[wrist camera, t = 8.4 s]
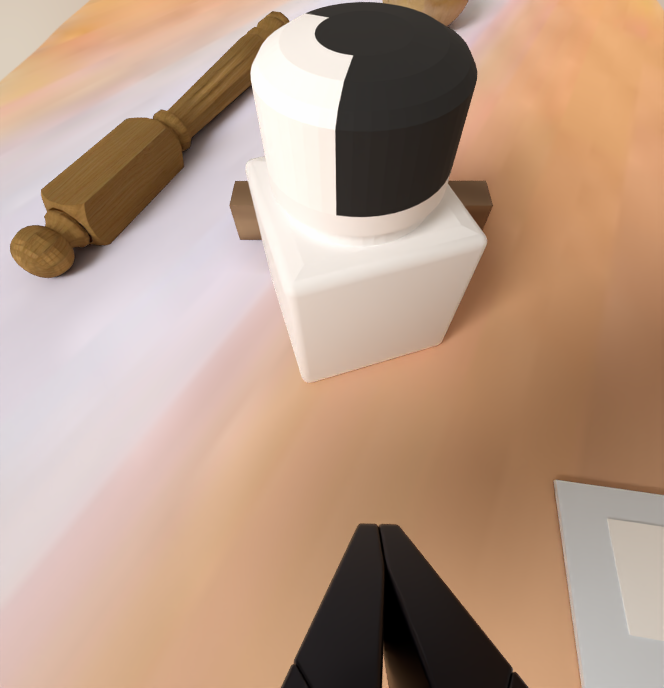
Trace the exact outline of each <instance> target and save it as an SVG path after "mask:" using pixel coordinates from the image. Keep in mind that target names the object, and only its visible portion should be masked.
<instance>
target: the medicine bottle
mask: <svg viewBox="0 0 664 688" xmlns="http://www.w3.org/2000/svg"><path fill="white" fill-rule="evenodd" d="M476 81H477V68H476V64H475V62H474V59H473V57H472V54H471V52H470V50H469V48H468V46H467V44H466V42H465V41H464V40H463V39H462V38H461V36H459V35H458V34H457V33H456V32H455V31H453V30H452V29H450V28H449V27H447V26H446V25H444V24H442V23H441V22H439V21H437V20H436V19H434V18H432V17H431V16H429V15H427V14H425V13H422V12H420V11H417V10H415V9H411V8H408V7H404V6H399V5H393V4H386V3H375V2H356V3H344V4H337V5H331V6H327V7H322V8H319V9H316V10H313V11H310V12H308V13H305V14H303V15H301V16H299V17H297V18H296V19H294V20H292V21H291V22H289V23H287V24H285V25H284V26H282V27H280V28H279V29H277V30H276V31H274V32H273V33H272V34H271V35H270V36H269V37H268V38H267V39H266V40H265V41H264V42H263V44H262V45H261V47H260V49H259V51H258V53H257V56H256V58H255V60H254V62H253V64H252V67H251V83H252V89H253V94H254V99H255V105H256V110H257V116H258V121H259V126H260V132H261V137H262V143H263V148H264V153H265V156H264V157H259V158H255V159H251V160H249V161H248V162H247V163H246V175H247V179H248V183H249V188H250V192H251V196H252V200H253V204H254V208H255V212H256V216H257V221H258V225H259V229H260V233H261V237H262V241H263V245H264V249H265V253H266V258H267V262H268V266H269V270H270V274H271V278H272V281H273V284H274V288H275V291H276V294H277V297H278V301H279V304H280V307H281V311H282V314H283V317H284V320H285V324H286V327H287V330H288V334H289V337H290V340H291V343H292V347H293V350H294V353H295V357H296V360H297V363H298V366H299V370H300V373H301V376H302V378H303V380H304V381H305V382H307V383H312V382H316V381H319V380H322V379H326V378H329V377H333V376H336V375H339V374H343V373H346V372H349V371H353V370H356V369H360V368H363V367H366V366H370V365H373V364H376V363H380V362H383V361H387V360H390V359H393V358H397V357H400V356H403V355H407V354H410V353H414V352H417V351H420V350H424V349H427V348H430V347H434V346H437V345H439V344H440V343H442V341H443V338H444V336H445V334H446V332H447V330H448V328H449V325H450V323H451V321H452V319H453V317H454V315H455V312H456V310H457V308H458V306H459V304H460V302H461V299H462V297H463V295H464V293H465V291H466V289H467V286H468V284H469V282H470V280H471V278H472V276H473V273H474V271H475V269H476V267H477V265H478V263H479V260H480V258H481V256H482V254H483V252H484V250H485V247H486V245H487V238H486V235H485V234H484V233H483V231H482V230H481V229H480V227H479V226H478V224H477V223H476V222H475V220H474V219H473V218H472V216H471V215H470V213H469V212H468V211H467V209H466V208H465V207H464V205H463V204H462V202H461V201H460V200H459V198H458V197H457V195H456V194H455V193H454V191H453V190H452V189H451V187H450V186H449V184H448V180H449V177H450V173H451V169H452V166H453V162H454V159H455V155H456V152H457V148H458V145H459V141H460V138H461V134H462V131H463V127H464V124H465V120H466V117H467V113H468V109H469V106H470V102H471V99H472V95H473V92H474V88H475V85H476Z"/></svg>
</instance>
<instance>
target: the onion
mask: <svg viewBox="0 0 664 688" xmlns="http://www.w3.org/2000/svg"><path fill="white" fill-rule="evenodd" d="M382 1H383V3H386V4H393V5H399V6H404V7H408V8H411V9H415V10H417V11H420V12H422V13H425V14H427V15H429V16H431V17H432V18H434V19H436V20H437V21H439V22H441V23H442V24H444V25H446V26H448V25H449V24H450V23H452V22H453V21H454V20H455V19H456V18H457V17H458V16H459V14H460V13H461V12H462V11H463V9H464V8H465V6H466V4H467V3H468V0H382Z"/></svg>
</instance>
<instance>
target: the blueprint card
mask: <svg viewBox="0 0 664 688" xmlns="http://www.w3.org/2000/svg"><path fill="white" fill-rule="evenodd" d="M554 488H555V496H556V503H557V510H558V518H559V525H560V532H561V540H562V547H563V554H564V561H565V569H566V576H567V583H568V591H569V598H570V605H571V613H572V620H573V627H574V635H575V642H576V649H577V656H578V664H579V671H580V678H581V686H582V688H664V495H659V494H652V493H645V492H638V491H631V490H624V489H617V488H610V487H603V486H596V485H589V484H582V483H575V482H568V481H561V480H554Z"/></svg>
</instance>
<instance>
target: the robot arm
mask: <svg viewBox="0 0 664 688" xmlns="http://www.w3.org/2000/svg"><path fill="white" fill-rule="evenodd" d="M383 654H384V661H385V667H386V673H387V679H388V685H389V688H528V686H527V685H526V684H525V683H524V681H523V680H522V679H521V678H520V676H519V675H518V674H517V673H516V672H513V668H512V667H511V665H510V664H509V663H508V662H507V660H506V659H505V658H504V657H503V655H502V654H501V653H500V652H499V650H498V649H497V648H496V646H495V645H494V644H493V643H492V641H491V640H490V639H489V638H488V636H487V635H486V634H485V633H484V631H483V630H482V629H481V628H480V626H479V625H478V624H477V623H476V621H475V620H474V619H473V618H472V616H471V615H470V614H469V613H468V611H467V610H466V609H465V608H464V606H463V605H462V604H461V603H460V601H459V600H458V599H457V598H456V596H455V595H454V594H453V593H452V591H451V590H450V589H449V588H448V586H447V585H446V584H445V583H444V581H443V580H442V579H441V578H440V576H439V575H438V574H437V573H436V571H435V570H434V569H433V568H432V566H431V565H430V564H429V563H428V561H427V560H426V559H425V558H424V556H423V555H422V554H421V553H420V551H419V550H418V549H417V548H416V546H415V545H414V544H413V543H412V541H411V540H410V539H409V538H408V536H407V535H406V534H405V533H404V531H403V530H402V529H401V528H400V526H398V525H396V524H380V525H379V527H378V526H377V525H376V524H364V523H361V524H359V525H358V526H357V528H356V530H355V532H354V534H353V537H352V539H351V541H350V543H349V545H348V547H347V549H346V551H345V553H344V556H343V558H342V560H341V562H340V564H339V566H338V568H337V570H336V572H335V575H334V577H333V579H332V581H331V583H330V585H329V587H328V589H327V592H326V594H325V596H324V598H323V600H322V602H321V604H320V606H319V608H318V611H317V613H316V615H315V617H314V619H313V621H312V623H311V625H310V628H309V630H308V632H307V634H306V636H305V638H304V640H303V642H302V644H301V647H300V649H299V651H298V653H297V655H296V657H295V659H294V664H293V665H291V667H290V669H289V671H288V673H287V676H286V678H285V680H284V682H283V684H282V686H281V688H382V669H383Z"/></svg>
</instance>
